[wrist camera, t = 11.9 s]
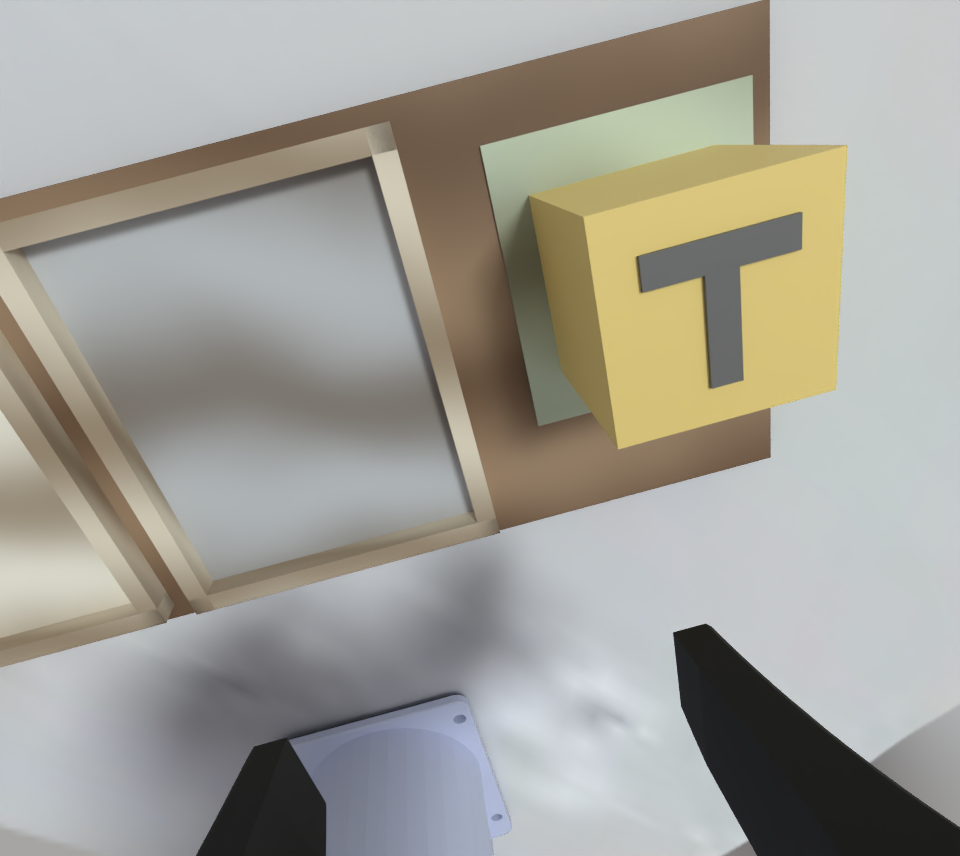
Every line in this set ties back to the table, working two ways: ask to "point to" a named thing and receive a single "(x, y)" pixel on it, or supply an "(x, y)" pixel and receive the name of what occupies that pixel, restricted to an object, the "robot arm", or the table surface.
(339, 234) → the organizer board
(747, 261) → the letter cube
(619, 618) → the table surface
